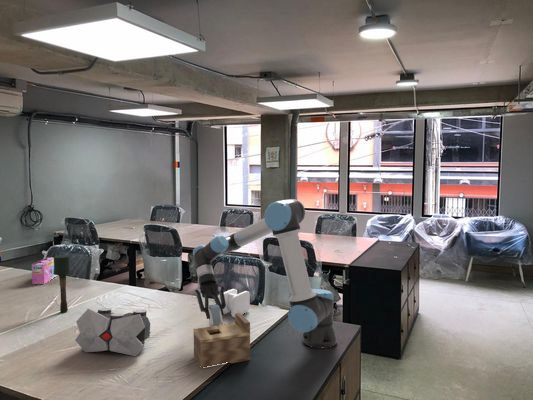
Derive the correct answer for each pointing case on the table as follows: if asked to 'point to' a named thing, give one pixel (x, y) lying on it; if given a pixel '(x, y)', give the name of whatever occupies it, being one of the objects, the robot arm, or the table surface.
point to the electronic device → (113, 331)
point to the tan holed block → (224, 330)
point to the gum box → (43, 271)
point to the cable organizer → (236, 302)
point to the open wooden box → (222, 350)
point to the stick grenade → (62, 277)
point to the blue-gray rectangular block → (215, 314)
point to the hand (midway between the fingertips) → (217, 324)
